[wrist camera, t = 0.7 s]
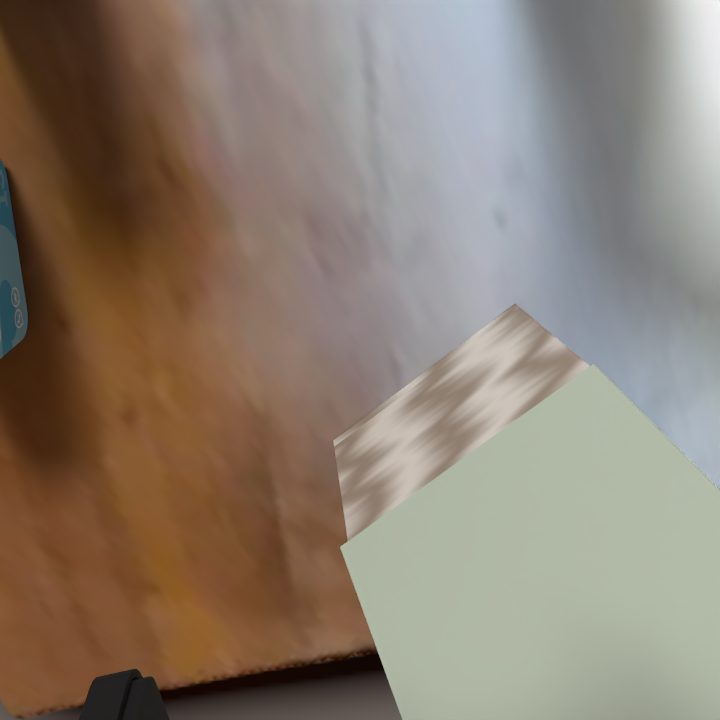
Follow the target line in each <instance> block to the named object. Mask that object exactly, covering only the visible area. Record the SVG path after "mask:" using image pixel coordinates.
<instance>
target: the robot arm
mask: <svg viewBox="0 0 720 720" xmlns="http://www.w3.org/2000/svg"><path fill="white" fill-rule="evenodd" d="M79 720H169V717H168V715H167V712H166V709H165V706H164V704H163V701H162V699H161V696H160V693H159V690H158V687H157V685H156V682H155V680H154V678H153V677H145V678H143V677H142V675H141V673H140V672H139V671H138V670H137V669H132V670H127V671H123V672H118V673H114V674H109V675H105V676H100V677H96V678H95V679H94V680H93V682H92V684H91V686H90V689H89V692H88V695H87V698H86V701H85V704H84V707H83V710H82V713H81V716H80V718H79Z"/></svg>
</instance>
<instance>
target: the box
mask: <svg viewBox="0 0 720 720" xmlns="http://www.w3.org/2000/svg"><path fill="white" fill-rule="evenodd" d="M588 367H590V366H589V365H588V364H587V363H586V362H585V361H583V360H582V359H581V358H580V357H579V356H577V355H576V354H575V353H574V352H573V351H571V350H570V349H569V348H568V347H567V346H565V345H564V344H563V343H562V342H561V341H559V340H558V339H557V338H556V337H555V336H553V335H552V334H551V333H550V332H549V331H547V330H546V329H545V328H544V327H543V326H541V325H540V324H539V323H538V322H537V321H535V320H534V319H533V318H532V317H531V316H529V315H528V314H527V313H526V312H525V311H523V310H522V309H521V308H520V307H519V306H517V305H516V304H514V305H513V306H511V307H510V308H509V309H507V310H506V311H505V312H503V313H502V314H501V315H499V316H498V317H497V318H495V319H494V320H493V321H491V322H490V323H489V324H487V325H486V326H485V327H484V328H482V329H481V330H480V331H478V332H477V333H476V334H474V335H473V336H472V337H470V338H469V339H468V340H466V341H465V342H464V343H462V344H461V345H460V346H458V347H457V348H456V349H454V350H453V351H452V352H450V353H449V354H448V355H446V356H445V357H444V358H442V359H441V360H440V361H438V362H437V363H436V364H434V365H433V366H432V367H430V368H429V369H428V370H426V371H425V372H424V373H422V374H421V375H420V376H418V377H417V378H416V379H414V380H413V381H412V382H410V383H409V384H408V385H406V386H405V387H404V388H402V389H401V390H400V391H398V392H397V393H396V394H394V395H393V396H392V397H391V398H389V399H388V400H387V401H385V402H384V403H383V404H381V405H380V406H379V407H377V408H376V409H375V410H373V411H372V412H371V413H369V414H368V415H367V416H365V417H364V418H363V419H361V420H360V421H359V422H357V423H356V424H355V425H353V426H352V427H351V428H349V429H348V430H347V431H345V432H344V433H343V434H341V435H340V436H339V437H337V438H336V439H335V440H333V442H334V449H335V455H336V462H337V469H338V476H339V483H340V490H341V496H342V503H343V510H344V517H345V524H346V531H347V537H348V541H349V540H351V539H352V538H353V537H355V536H356V535H357V534H359V533H360V532H362V531H363V530H364V529H366V528H367V527H368V526H370V525H371V524H373V523H374V522H375V521H377V520H378V519H380V518H381V517H382V516H384V515H385V514H386V513H388V512H389V511H391V510H392V509H393V508H395V507H396V506H398V505H399V504H400V503H402V502H403V501H404V500H406V499H407V498H409V497H410V496H411V495H413V494H414V493H415V492H417V491H418V490H420V489H421V488H422V487H424V486H425V485H427V484H428V483H429V482H431V481H432V480H433V479H435V478H436V477H438V476H439V475H440V474H442V473H443V472H445V471H446V470H447V469H449V468H450V467H451V466H453V465H454V464H456V463H457V462H458V461H460V460H461V459H462V458H464V457H465V456H467V455H468V454H469V453H471V452H472V451H474V450H475V449H476V448H478V447H479V446H480V445H482V444H483V443H485V442H486V441H487V440H489V439H490V438H492V437H493V436H494V435H496V434H497V433H498V432H500V431H501V430H503V429H504V428H505V427H507V426H508V425H509V424H511V423H512V422H514V421H515V420H516V419H518V418H519V417H521V416H522V415H523V414H525V413H526V412H527V411H529V410H530V409H532V408H533V407H534V406H536V405H537V404H539V403H540V402H541V401H543V400H544V399H545V398H547V397H548V396H550V395H551V394H552V393H554V392H555V391H556V390H558V389H559V388H561V387H562V386H563V385H565V384H566V383H568V382H569V381H570V380H572V379H573V378H574V377H576V376H577V375H579V374H580V373H581V372H583V371H584V370H586V369H587V368H588Z"/></svg>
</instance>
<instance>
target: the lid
mask: <svg viewBox="0 0 720 720" xmlns="http://www.w3.org/2000/svg"><path fill="white" fill-rule="evenodd" d="M340 548H341V551H342V554H343V556H344V559H345V562H346V565H347V568H348V570H349V573H350V576H351V579H352V581H353V584H354V587H355V590H356V592H357V595H358V598H359V601H360V603H361V606H362V609H363V612H364V615H365V617H366V620H367V623H368V626H369V628H370V631H371V634H372V637H373V639H374V642H375V645H376V648H377V650H378V653H379V656H380V659H381V661H382V664H383V667H384V670H385V673H386V675H387V678H388V681H389V684H390V686H391V689H392V692H393V695H394V697H395V700H396V703H397V706H398V708H399V711H400V714H401V717H402V720H720V490H719V489H718V488H717V487H716V486H715V485H714V484H713V483H712V482H711V481H710V480H709V479H708V478H707V477H706V476H705V475H704V474H703V473H702V472H701V471H700V470H699V469H698V468H697V467H696V466H695V465H694V464H693V463H692V462H691V461H690V460H689V459H688V458H687V457H686V456H685V455H684V454H683V453H682V452H681V451H680V450H679V449H678V448H677V447H676V446H675V445H674V444H673V443H672V442H671V441H670V440H669V439H668V438H667V437H666V436H665V435H664V434H663V433H662V432H661V431H660V430H659V429H658V428H657V427H656V426H655V425H654V424H653V423H652V422H651V421H650V420H649V419H648V418H647V417H646V416H645V415H644V414H643V413H642V412H641V411H640V410H639V409H638V408H637V407H636V406H635V405H634V404H633V403H632V402H631V401H630V400H629V399H628V398H627V397H626V396H625V395H624V394H623V393H622V392H621V391H620V390H619V389H618V388H617V387H616V386H615V385H614V384H613V383H612V382H611V381H610V380H609V379H608V378H607V376H606V375H605V374H604V373H603V372H602V371H601V370H600V369H599V368H598V367H597V366H596V365H595V364H592V365H591V366H590V367H588V368H587V369H586V370H584V371H583V372H581V373H580V374H579V375H577V376H576V377H574V378H573V379H572V380H570V381H569V382H568V383H566V384H565V385H563V386H562V387H561V388H559V389H558V390H556V391H555V392H554V393H552V394H551V395H550V396H548V397H547V398H545V399H544V400H543V401H541V402H540V403H539V404H537V405H536V406H534V407H533V408H532V409H530V410H529V411H527V412H526V413H525V414H523V415H522V416H521V417H519V418H518V419H516V420H515V421H514V422H512V423H511V424H509V425H508V426H507V427H505V428H504V429H503V430H501V431H500V432H498V433H497V434H496V435H494V436H493V437H492V438H490V439H489V440H487V441H486V442H485V443H483V444H482V445H480V446H479V447H478V448H476V449H475V450H474V451H472V452H471V453H469V454H468V455H467V456H465V457H464V458H462V459H461V460H460V461H458V462H457V463H456V464H454V465H453V466H451V467H450V468H449V469H447V470H446V471H445V472H443V473H442V474H440V475H439V476H438V477H436V478H435V479H433V480H432V481H431V482H429V483H428V484H427V485H425V486H424V487H422V488H421V489H420V490H418V491H417V492H415V493H414V494H413V495H411V496H410V497H409V498H407V499H406V500H404V501H403V502H402V503H400V504H399V505H398V506H396V507H395V508H393V509H392V510H391V511H389V512H388V513H386V514H385V515H384V516H382V517H381V518H380V519H378V520H377V521H375V522H374V523H373V524H371V525H370V526H368V527H367V528H366V529H364V530H363V531H362V532H360V533H359V534H357V535H356V536H355V537H353V538H352V539H351V540H349V541H348V542H346V543H345V544H344V545H342V546H341V547H340Z"/></svg>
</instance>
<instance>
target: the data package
mask: <svg viewBox="0 0 720 720" xmlns="http://www.w3.org/2000/svg"><path fill="white" fill-rule="evenodd" d="M27 326H28V312H27V305H26V299H25V292H24V285H23V279H22V272H21V266H20V259H19V252H18V246H17V239H16V232H15V226H14V219H13V213H12V206H11V199H10V193H9V186H8V179H7V174H6V170H5V167H4V165H3V163H2V161H1V159H0V359H1V358H2V357H3V356H4V355H5V354H6V353H8V352H9V351H10V350H11V349H12V348H13V347H15V346H16V345H17V344H18V343H19V342H20V341H22V339H23V338H24V336H25V334H26V331H27Z"/></svg>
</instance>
